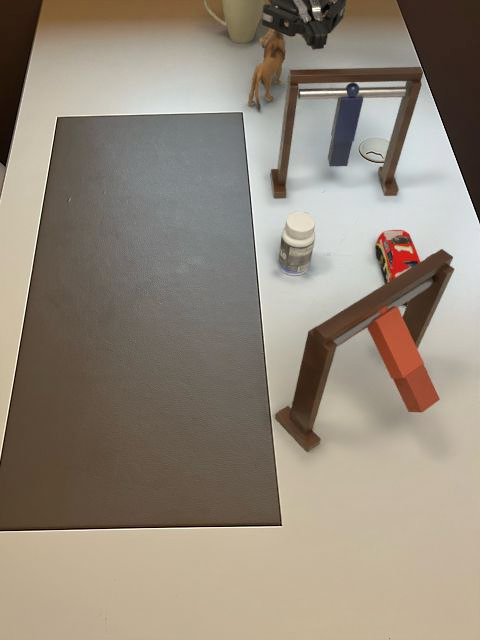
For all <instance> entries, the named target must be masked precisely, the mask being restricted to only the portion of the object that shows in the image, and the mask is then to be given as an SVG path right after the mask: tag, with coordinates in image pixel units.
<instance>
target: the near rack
mask: <svg viewBox="0 0 480 640" xmlns="http://www.w3.org/2000/svg"><path fill="white" fill-rule="evenodd" d="M453 259H454V256H452V255H451V254H450V253H449V252H447V251H446V250H444V249H443V248H441V249H439V250H438V251H436V252H435V253H431V254H430V255H429V256H426V258H425V259H423V260H422V261H421V260H420V263H418V264H417V265H415V266H413V267H412V268H410V269H409V270H407V271H405V272H404V273H402V274H401V275H399V276H397V277H396V278H394V279H393V280H391V281H389V282H388V283H385V284H383V285H382V286H380V287H377V289H375V290H373V291H372V292H370V293H369V294H367V295H364V296H363V297H361V298H360V299H359V300H357V301H355V302H354V303H353V304H351V305H349V306H347V307H346V308H344V309H342V310H341V311H340V312H338V313H336V314H335V315H333V316H331V317H330V318H328V319H327V320H325V321H323V322H322V323H320V324H319V325H316V326H314V327H312V328H311V329H309V330H308V331H307V336H306V339H305V340H306V341H305V345H304V349H303V352H302V353H303V354H302V358H301V363H300V368H299V371H298V376H297V381H296V384H295V385H296V386H295V390H294V394H293V398H292V404H291V406H289V405H286V406H285V407H283V408H282V409H280V410H279V411H277V412H276V413H275V416H274V419H275V420H276V421H277V422H278V423H279V424H280V426H282V427H283V429H284V430H285V431H286V432H287V433H288V434H289V435H290V436H291V437H292V438H293V439H294V440H295V441H296V443H298V444H299V445H300V446H301V448H302V449H304V451H305V452H306V453H309V452H311V451H312V450H313V449H315V448H316V447H317V446H319V445H320V443H321V441H322V439H321V437H319V435H317V434H316V432H315V431H314V427H315V423H316V419H317V416H318V412H319V408H320V406H321V402H322V399H323V395H324V391H325V388H326V386H327V382H328V378H329V375H330V370H331V368H332V365H333V361H334V357H335V353H336V351H337V348H338V347H337V344H336V343H335V342H334V341H333V339H335V338H336V337H338V336H339V335H341V334H342V333H344V332H346V331H347V330H349V329H350V328H352V327H353V326H355V325H357V324H358V323H360V322H361V321H363V320H364V319H366V318H368V317H369V316H371V315H372V314H374V313H375V312H377V311H378V310H380V309H382V308H383V307H385V306H386V305H388V304H389V303H391V302H393V301H394V300H396V299H397V298H399V297H400V296H402V295H404V294H405V293H407V292H408V291H410V290H411V289H413V288H415V287H416V286H418V285H419V284H421V283H422V282H424V281H425V280H427V279H429V278H430V277H432V279H433V281H434V283H433V285H432V286H431V287H429V288H428V289H426V290H425V291H423V292H421V293H420V294H418V295H417V296H415V297H414V298H412V299H411V300H409V302H408V304H406V307H405V309H404V312H403V314H402V317H403V320H404V322H405V324H406V326H407V328H408V330H409V332H410V334H411V337H412V339H413V341H414V343H415V345H416V347H417V349H419V347H420V344H421V343H422V340H423V338H424V336H425V334H426V332H427V329H428V327H429V325H430V323H431V321H432V319H433V317H434V315H435V313H436V310H437V308H438V307H439V304H440V302H441V300H442V298H443V295H444V293H445V291H446V289H447V286H448V284H449V282H450V280H451V279H452V276H453V273H455V268H454V267H453V266H451V263H452V261H453Z"/></svg>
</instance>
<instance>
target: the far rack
mask: <svg viewBox="0 0 480 640" xmlns="http://www.w3.org/2000/svg"><path fill="white" fill-rule="evenodd" d="M423 75H424V71H423V69H422V66H397V67H396V66H394V67H389V66H388V67H355V68H354V67H353V68H352V67H350V68H348V67H347V68H313V69H311V68H310V69H309V68H307V69H289V73H288V77H287V83H286V92H285V100H284V109H283V117H282V125H281V135H280V142H279V150H278V151H279V152H278V159H277V168H271V169H270V175H269V176H270V183H271V189H272V196H273V199H286V198H287V193H288V192H287V187H286V186H287V178H288V171H289V164H290V156H291V149H292V141H293V136H294V135H293V134H294V128H295V119H296V112H297V103H298V91H299V89H300V84H301V85H303V84H304V85H305V84H306V85H307V84H344V83H348V84H349V83H388V82H405V87H406V94H405V96H404V97H401V99H400V103H399V107H398V110H397V115H396V118H395V122H394V124H393V129H392V132H391V135H390V139H389V142H388V146H387V150H386V153H385V157H384V161H383V163H382V166H378V171H377V174H378V175H377V176H378V177H379V181H380V185H381V188H382V192H383V195H384V196H387V197H388V196H389V197H390V196H398V192H399V187H398V183H397V180H396V177H395V174H396V171H397V168H398V165H399V161H400V159H401V155H402V151H403V148H404V145H405V141H406V139H407V135H408V132H409V128H410V126H411V121H412V119H413V115H414V111H415V109H416V105H417V101H418V98H419V95H420V92H421V89H422V86H423V83H422V78H423Z"/></svg>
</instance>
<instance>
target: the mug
mask: <svg viewBox="0 0 480 640" xmlns="http://www.w3.org/2000/svg"><path fill="white" fill-rule="evenodd" d="M221 1H222V11H223V16H224V20H222V19H221V18H220V17H219V16H217V14H215V13H214V11H212V10H211V8H210V7H209V5H208V2H207V0H203V4H204V7H205V9H206V11H207V13H209V15H210V16H211V17H212V18H213V19H214V20H215V21H216V22H217V23H219V24H221V26H223V27H226V28H227V31H228V36H229V39H230V40H231V41H232V42H233V43H237V44H247V43H250V42H251V41H253V39H254V37H255V35H256V32H257V29H258V26H259V23H260V20H261V19H262V16H263V6H264V5H265V1H266V0H221Z"/></svg>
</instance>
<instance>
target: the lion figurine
mask: <svg viewBox="0 0 480 640" xmlns="http://www.w3.org/2000/svg"><path fill="white" fill-rule="evenodd" d="M259 44H260V46H261V47H262V49H263V51H264V52H263V60H262V62H260V63H259V64H258V65H257V66H256V67H255V69H254V72H253V75H252V78H251V80H252V81H251V87H250V91H249V94H248V103H247V105H248V106H254V105H255V103H256V110H257V111H258V112H260V111H261V104H260V101H259V86H260V83H261V84H262V85H263V87H264V92H265V93H264V97H265V100H266V101H268V102H269V103H270V102H274V97H273V96H272V95H270V93H271V88H272V78H274V77H275V78H274V81H273V82H274V84H275V85H277V86H278V85H281V84H282V81H281V80H280V79H281V75H282V72H283V64H284V62H285V60H286V41H285V38H284V34H283V33H280V32H278V31H276V30H273V29H271V28H268V32H266V34H265V35H263V36H261V37H260V38H259ZM254 98H255V100H254Z"/></svg>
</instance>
